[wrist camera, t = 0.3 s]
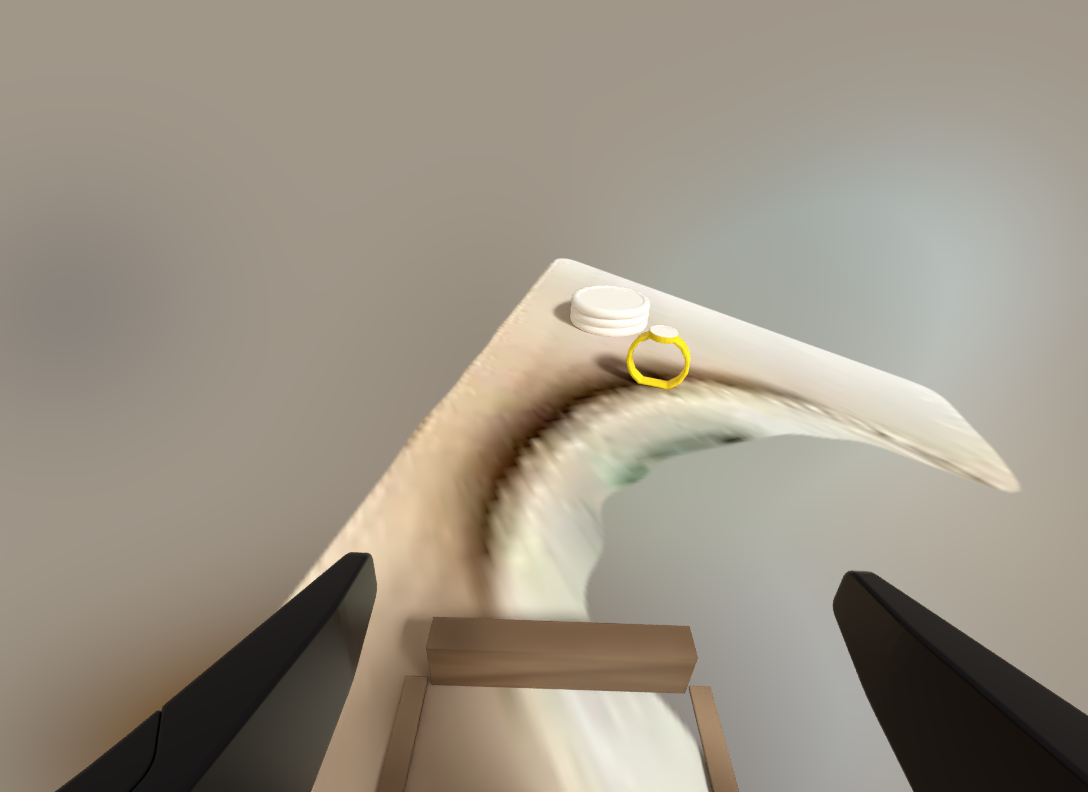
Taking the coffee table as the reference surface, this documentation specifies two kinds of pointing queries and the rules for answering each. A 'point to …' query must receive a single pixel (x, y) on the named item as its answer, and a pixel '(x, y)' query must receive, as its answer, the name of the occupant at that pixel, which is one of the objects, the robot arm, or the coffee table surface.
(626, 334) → the coaster
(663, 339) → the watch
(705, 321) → the coffee table surface
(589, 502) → the coffee table surface
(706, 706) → the bay
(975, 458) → the coffee table surface
